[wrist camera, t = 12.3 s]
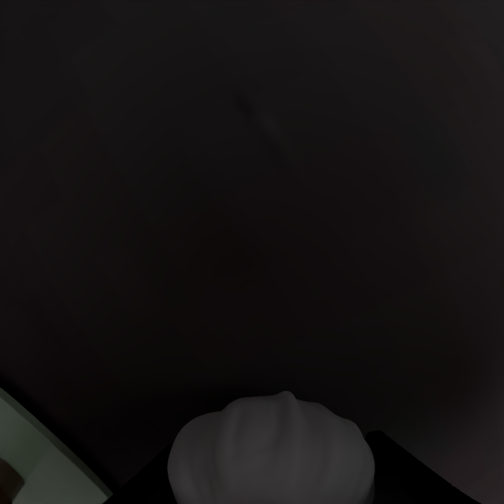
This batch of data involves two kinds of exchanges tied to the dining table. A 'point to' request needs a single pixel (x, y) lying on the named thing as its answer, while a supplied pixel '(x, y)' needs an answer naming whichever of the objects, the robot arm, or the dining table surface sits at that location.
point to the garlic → (271, 456)
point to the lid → (41, 463)
